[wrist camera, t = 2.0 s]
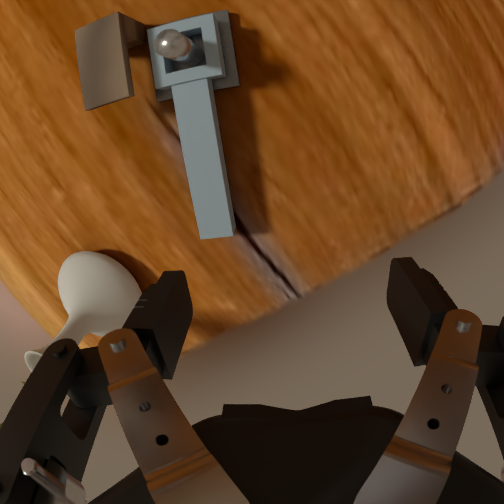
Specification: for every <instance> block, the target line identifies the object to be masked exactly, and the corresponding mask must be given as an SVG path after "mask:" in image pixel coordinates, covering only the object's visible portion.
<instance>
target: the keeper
mask: <svg viewBox="0 0 504 504" xmlns="http://www.w3.org/2000/svg"><path fill="white" fill-rule="evenodd" d="M75 39H76V49H77V58H78V67H79V74H80V82H81V88H82V95H83V101H84V107H85V111H88V110H93V109H96V108H99V107H101V106H104V105H107V104H110V103H113V102H116V101H120V100H123V99H126V98H129V97H133V96H135V95H134V89H133V83H132V76H131V70H130V63H129V56H128V49H129V48H132V47H135V46H138V45H141V44H145V43H146V38H145V30H144V24H142V23H140V22H138V21H136V20H134V19H132V18H130V17H128V16H126V15H124V14H122V13H120V12H116V13H113V14H111V15H109V16H106V17H104V18H101V19H99V20H97V21H94V22H92V23H90V24H88V25H86V26H83V27H81V28H79V29H77V30H75Z"/></svg>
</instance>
